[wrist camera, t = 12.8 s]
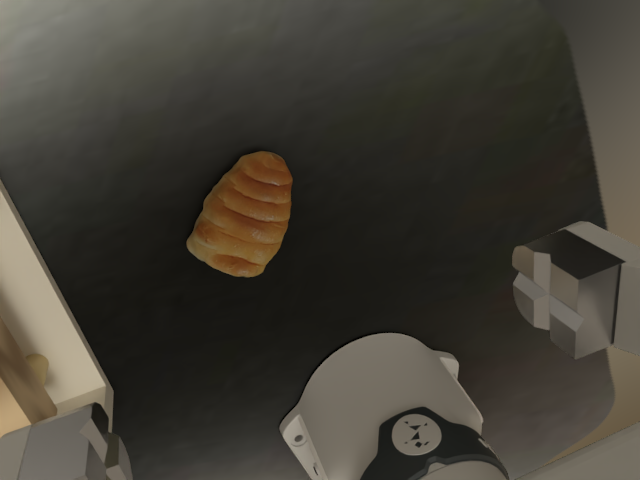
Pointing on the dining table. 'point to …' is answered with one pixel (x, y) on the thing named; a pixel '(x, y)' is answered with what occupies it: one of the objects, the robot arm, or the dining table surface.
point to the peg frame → (45, 321)
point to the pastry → (244, 216)
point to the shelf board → (19, 388)
